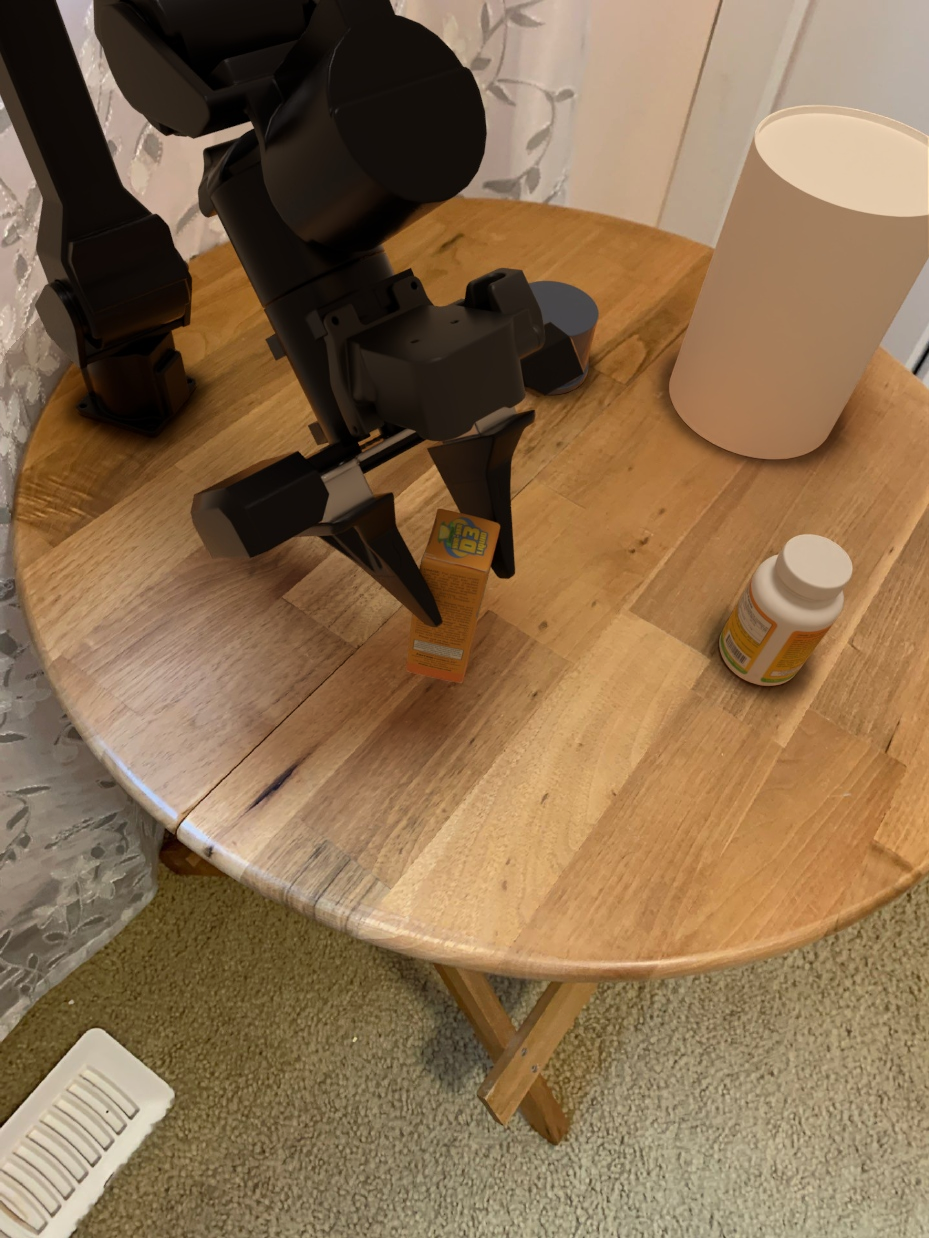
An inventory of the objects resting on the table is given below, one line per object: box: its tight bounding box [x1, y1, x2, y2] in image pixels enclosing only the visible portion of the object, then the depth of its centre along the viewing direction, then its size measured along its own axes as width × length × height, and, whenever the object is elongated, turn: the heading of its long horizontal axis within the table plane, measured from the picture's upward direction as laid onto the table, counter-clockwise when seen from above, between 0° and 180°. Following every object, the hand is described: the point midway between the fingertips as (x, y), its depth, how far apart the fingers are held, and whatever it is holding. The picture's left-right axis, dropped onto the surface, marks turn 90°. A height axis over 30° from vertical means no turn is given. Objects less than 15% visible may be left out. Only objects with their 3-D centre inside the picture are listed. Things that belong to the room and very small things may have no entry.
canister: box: [668, 104, 929, 460], centre depth 65 cm, size 14×14×20 cm
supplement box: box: [405, 508, 500, 684], centre depth 44 cm, size 3×3×10 cm
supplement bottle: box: [718, 533, 854, 687], centre depth 54 cm, size 5×5×10 cm
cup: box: [528, 280, 600, 396], centre depth 71 cm, size 8×7×6 cm
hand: (471, 601), depth 43 cm, fingers closed on supplement box, 4 cm apart
